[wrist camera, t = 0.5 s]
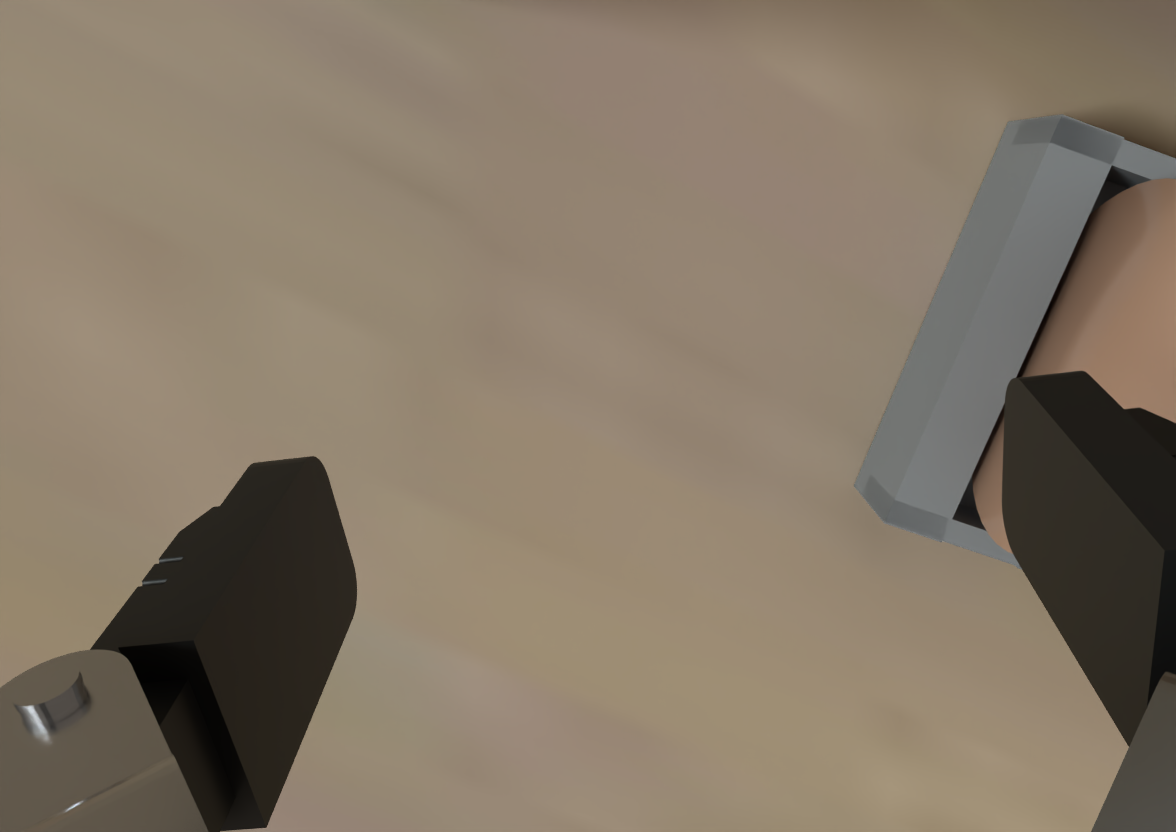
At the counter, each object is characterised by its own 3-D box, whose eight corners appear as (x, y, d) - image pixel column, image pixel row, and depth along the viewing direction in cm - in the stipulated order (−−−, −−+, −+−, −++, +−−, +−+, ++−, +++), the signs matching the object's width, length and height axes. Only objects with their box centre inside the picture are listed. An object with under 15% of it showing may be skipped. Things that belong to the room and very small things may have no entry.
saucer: (988, 505, 32) (1160, 650, 22) (935, 487, 32) (1084, 625, 22) (1129, 198, 30) (1389, 209, 20) (1073, 178, 29) (1307, 178, 20)
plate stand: (1023, 543, 33) (1073, 586, 30) (854, 485, 33) (884, 523, 29) (1190, 188, 30) (1267, 190, 27) (1008, 121, 30) (1062, 114, 27)
